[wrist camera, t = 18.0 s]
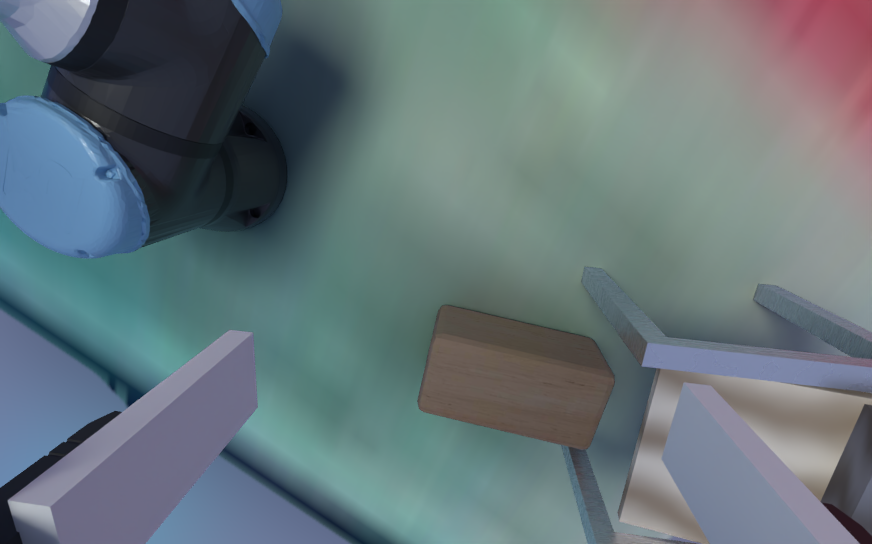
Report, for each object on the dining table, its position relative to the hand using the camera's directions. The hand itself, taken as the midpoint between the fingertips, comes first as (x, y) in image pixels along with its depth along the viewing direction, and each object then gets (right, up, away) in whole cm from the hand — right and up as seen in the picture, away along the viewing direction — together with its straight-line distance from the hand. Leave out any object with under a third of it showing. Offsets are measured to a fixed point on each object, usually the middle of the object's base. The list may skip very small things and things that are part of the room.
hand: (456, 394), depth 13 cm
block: (+18, -10, +37) cm, 42 cm away
